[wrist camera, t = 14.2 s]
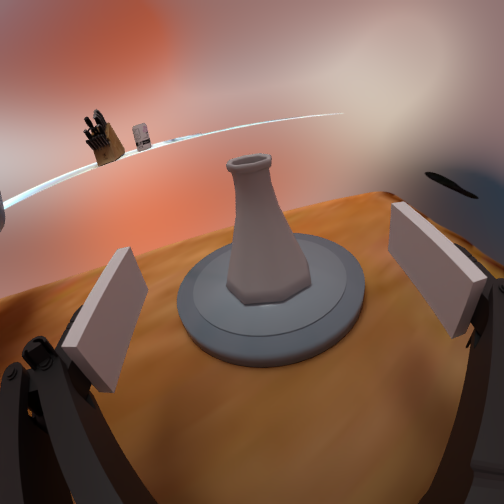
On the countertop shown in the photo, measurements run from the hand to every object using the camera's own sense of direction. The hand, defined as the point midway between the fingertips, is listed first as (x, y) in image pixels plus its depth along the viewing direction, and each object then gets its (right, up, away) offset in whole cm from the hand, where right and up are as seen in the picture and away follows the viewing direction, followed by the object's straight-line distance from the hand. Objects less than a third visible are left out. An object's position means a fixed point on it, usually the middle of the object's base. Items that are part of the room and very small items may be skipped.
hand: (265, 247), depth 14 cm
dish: (+1, -4, +11) cm, 12 cm away
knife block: (-79, +50, +126) cm, 157 cm away
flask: (+1, -2, +11) cm, 11 cm away
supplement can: (-60, +57, +131) cm, 155 cm away
